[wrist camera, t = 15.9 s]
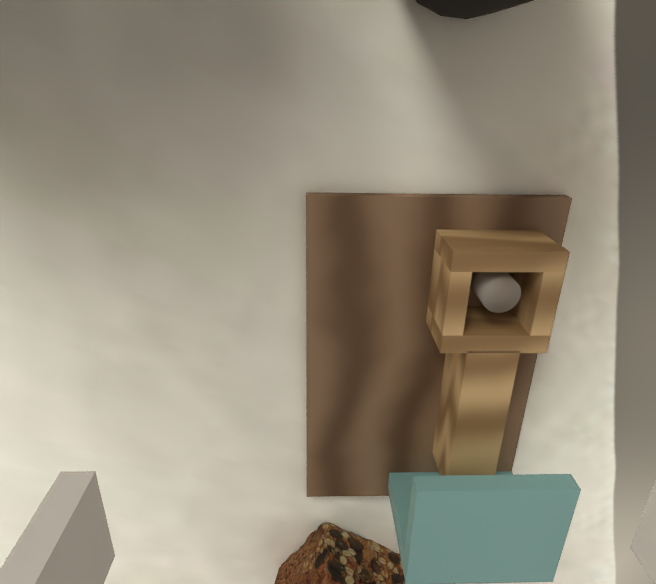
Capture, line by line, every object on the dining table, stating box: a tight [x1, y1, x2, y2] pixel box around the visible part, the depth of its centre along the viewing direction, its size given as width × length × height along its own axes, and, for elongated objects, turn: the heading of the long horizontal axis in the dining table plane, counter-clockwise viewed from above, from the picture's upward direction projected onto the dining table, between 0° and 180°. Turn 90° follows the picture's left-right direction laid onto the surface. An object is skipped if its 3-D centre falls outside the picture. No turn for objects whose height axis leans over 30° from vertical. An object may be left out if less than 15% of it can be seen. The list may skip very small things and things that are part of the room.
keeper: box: [388, 471, 581, 584], centre depth 43 cm, size 12×10×11 cm
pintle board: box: [306, 193, 572, 497], centre depth 41 cm, size 20×30×6 cm, turn 179°
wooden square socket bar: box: [426, 229, 570, 476], centre depth 40 cm, size 22×8×5 cm, turn 179°
